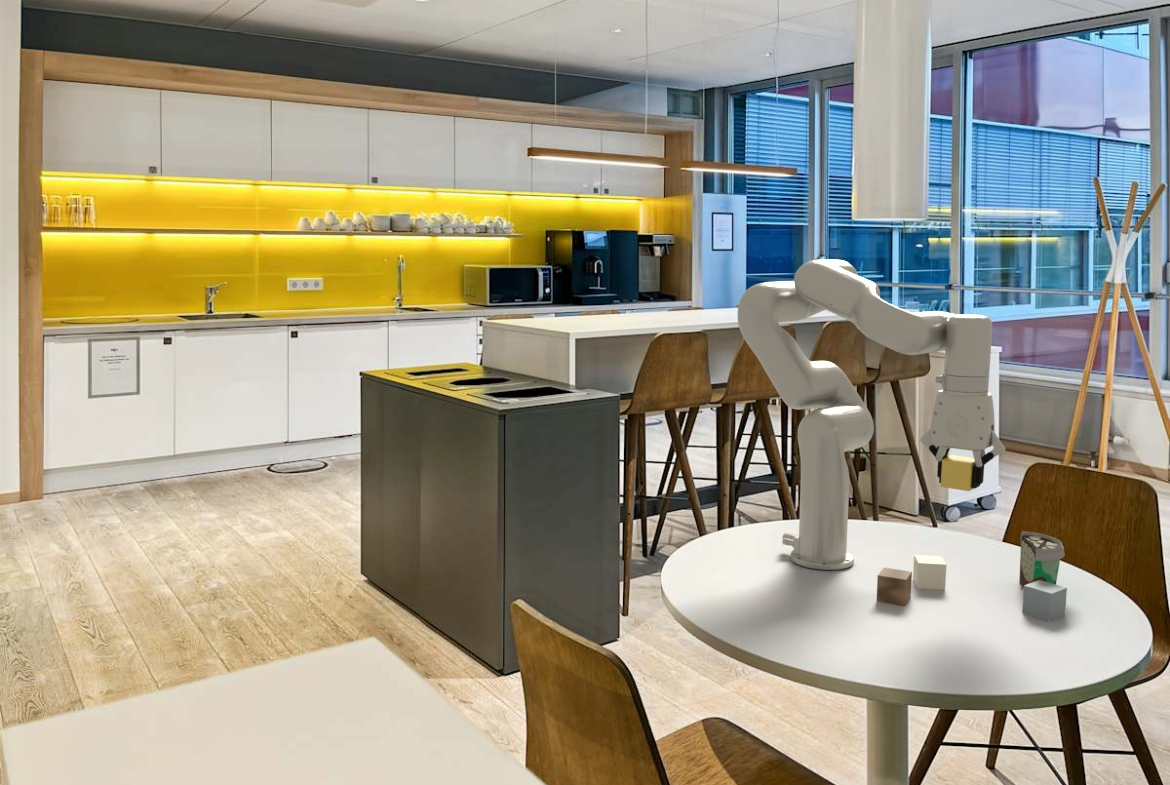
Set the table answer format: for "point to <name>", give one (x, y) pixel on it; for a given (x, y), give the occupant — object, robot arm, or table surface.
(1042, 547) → the food container
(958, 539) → the table surface
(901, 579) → the walnut cube
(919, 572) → the cream cube
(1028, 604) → the slate cube
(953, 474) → the mustard cube
